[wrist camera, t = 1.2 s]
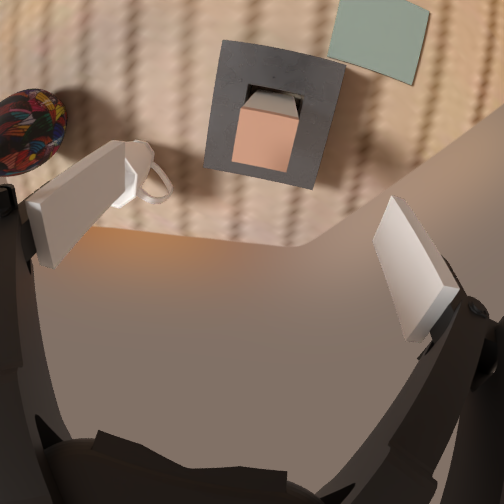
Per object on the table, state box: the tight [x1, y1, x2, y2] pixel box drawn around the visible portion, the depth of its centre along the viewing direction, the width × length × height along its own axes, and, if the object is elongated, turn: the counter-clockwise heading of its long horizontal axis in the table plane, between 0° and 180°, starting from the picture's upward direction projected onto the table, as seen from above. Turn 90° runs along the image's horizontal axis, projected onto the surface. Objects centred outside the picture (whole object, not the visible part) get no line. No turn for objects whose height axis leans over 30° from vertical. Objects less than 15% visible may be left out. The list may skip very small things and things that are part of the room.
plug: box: [232, 89, 299, 172], centre depth 26 cm, size 4×4×14 cm
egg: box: [0, 89, 67, 177], centre depth 28 cm, size 11×11×15 cm
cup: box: [111, 139, 173, 209], centre depth 34 cm, size 7×10×8 cm
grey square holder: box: [203, 40, 346, 190], centre depth 30 cm, size 14×12×4 cm
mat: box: [327, 0, 429, 85], centre depth 25 cm, size 10×10×1 cm
